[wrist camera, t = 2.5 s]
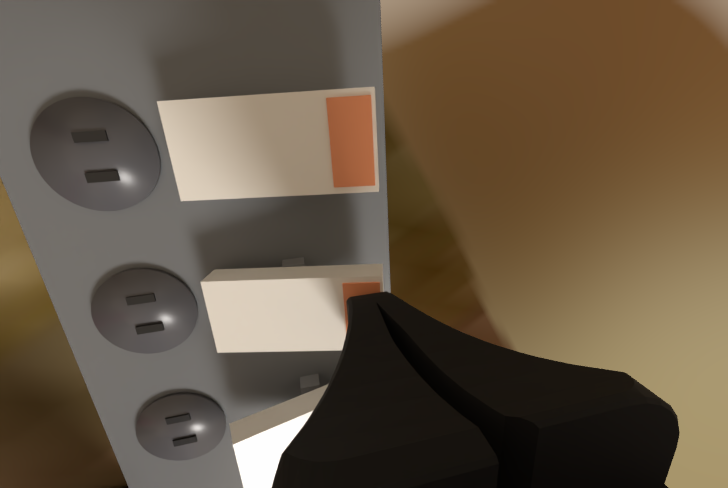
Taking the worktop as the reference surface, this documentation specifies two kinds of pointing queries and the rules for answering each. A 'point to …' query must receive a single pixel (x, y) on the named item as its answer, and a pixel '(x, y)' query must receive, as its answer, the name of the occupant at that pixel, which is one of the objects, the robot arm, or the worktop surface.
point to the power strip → (173, 205)
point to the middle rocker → (285, 306)
